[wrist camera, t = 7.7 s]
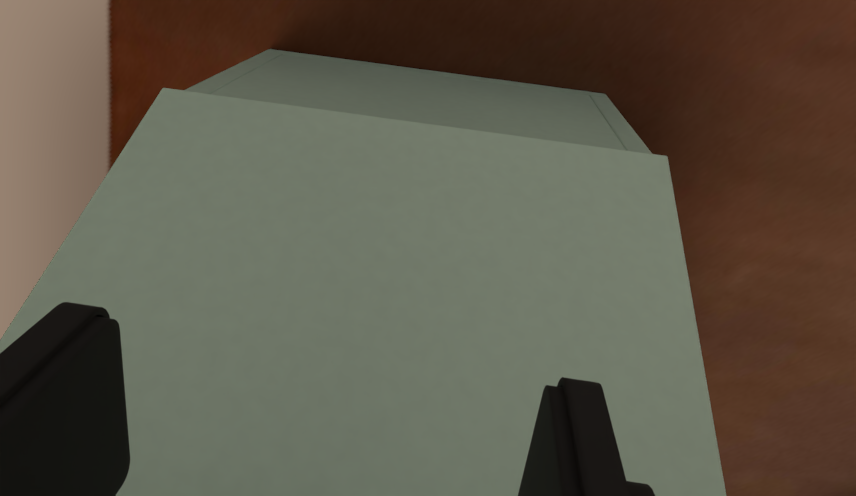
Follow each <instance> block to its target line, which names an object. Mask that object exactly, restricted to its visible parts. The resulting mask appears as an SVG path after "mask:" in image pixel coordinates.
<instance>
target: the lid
mask: <svg viewBox="0 0 856 496" xmlns="http://www.w3.org/2000/svg"><path fill="white" fill-rule="evenodd" d="M62 302H70V303H77V304H84V305H90V306H97V307H103V308H104V309H106V310H107V312H108V313H109V316H110V319H115V320H117V322H118V323H119V327H120V336H121V349H122V361H123V374H124V386H125V399H126V412H127V424H128V437H129V449H130V466H129V471H128V474H127V477H126V479H125V481H124V483H123V485H122V487H121V488H120V490H119V491H118V493H117V494H116V496H518V493H519V489H520V484H521V480H522V476H523V472H524V468H525V464H526V460H527V456H528V451H529V447H530V443H531V439H532V435H533V431H534V427H535V423H536V418H537V414H538V410H539V406H540V402H541V398H542V394H543V390H544V388H545V386H546V385H550V386H557V385H558V382H559V380H560V378H562V377H564V378H571V379H577V380H584V381H591V382H597V383H600V384H601V386H602V388H603V392H604V396H605V400H606V404H607V407H608V411H609V415H610V419H611V423H612V427H613V431H614V435H615V438H616V442H617V446H618V450H619V454H620V458H621V462H622V466H623V469H624V473H625V477H626V481H630V482H636V483H643V484H648V485H649V486H650V487H651V488H652V489H653V492H654V494H655V496H726V491H725V485H724V479H723V474H722V468H721V462H720V456H719V451H718V445H717V439H716V433H715V428H714V422H713V416H712V410H711V404H710V399H709V393H708V387H707V381H706V376H705V370H704V364H703V358H702V353H701V347H700V341H699V335H698V330H697V324H696V318H695V312H694V307H693V301H692V295H691V289H690V284H689V278H688V272H687V266H686V260H685V255H684V249H683V243H682V237H681V232H680V226H679V220H678V214H677V209H676V203H675V197H674V191H673V186H672V180H671V174H670V168H669V163H668V157H667V156H663V155H656V154H648V153H641V152H634V151H626V150H619V149H612V148H604V147H597V146H589V145H582V144H575V143H567V142H560V141H552V140H545V139H538V138H530V137H523V136H516V135H508V134H501V133H493V132H486V131H479V130H471V129H464V128H457V127H449V126H442V125H434V124H427V123H420V122H412V121H405V120H398V119H390V118H383V117H375V116H368V115H361V114H353V113H346V112H339V111H331V110H324V109H316V108H309V107H302V106H294V105H287V104H280V103H272V102H265V101H257V100H250V99H243V98H235V97H228V96H221V95H213V94H206V93H198V92H191V91H184V90H176V89H169V88H162V90H161V91H160V93H159V95H158V96H157V98H156V99H155V101H154V102H153V104H152V105H151V107H150V108H149V110H148V112H147V113H146V115H145V116H144V118H143V119H142V121H141V122H140V124H139V126H138V127H137V129H136V130H135V132H134V133H133V135H132V136H131V138H130V140H129V141H128V143H127V144H126V146H125V147H124V149H123V150H122V152H121V153H120V155H119V157H118V158H117V160H116V161H115V163H114V164H113V166H112V167H111V169H110V171H109V172H108V174H107V175H106V177H105V179H104V180H103V181H102V183H101V185H100V186H99V188H98V189H97V191H96V192H95V194H94V196H93V197H92V198H91V200H90V202H89V203H88V205H87V206H86V208H85V209H84V211H83V212H82V214H81V216H80V217H79V219H78V220H77V222H76V223H75V225H74V226H73V228H72V230H71V231H70V233H69V234H68V236H67V237H66V239H65V241H64V242H63V243H62V245H61V247H60V248H59V250H58V251H57V253H56V254H55V256H54V257H53V259H52V261H51V262H50V264H49V265H48V267H47V268H46V270H45V271H44V273H43V275H42V276H41V278H40V279H39V281H38V282H37V284H36V285H35V287H34V288H33V290H32V292H31V293H30V295H29V296H28V298H27V299H26V301H25V302H24V304H23V306H22V307H21V309H20V310H19V312H18V314H17V315H16V317H15V318H14V319H13V321H12V323H11V324H10V326H9V327H8V329H7V330H6V332H5V333H4V335H3V337H2V338H1V340H0V353H1V352H2V351H4V350H5V349H6V348H7V347H8V346H9V345H11V344H12V343H13V342H14V341H15V340H17V339H18V338H19V337H20V336H21V335H23V334H24V333H25V332H26V331H27V330H28V329H30V328H31V327H32V326H33V325H34V324H36V323H37V322H38V321H39V320H40V319H42V318H43V317H44V316H45V315H46V314H47V313H49V312H50V311H51V310H52V309H53V308H55V307H56V306H57V305H59V304H60V303H62Z"/></svg>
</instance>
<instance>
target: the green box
mask: <svg viewBox="0 0 856 496" xmlns="http://www.w3.org/2000/svg"><path fill="white" fill-rule="evenodd" d="M184 91H191V92H198V93H206V94H213V95H221V96H228V97H235V98H243V99H250V100H257V101H265V102H272V103H280V104H287V105H294V106H302V107H309V108H316V109H324V110H331V111H339V112H346V113H353V114H361V115H368V116H375V117H383V118H390V119H398V120H405V121H412V122H420V123H427V124H434V125H442V126H449V127H457V128H464V129H471V130H479V131H486V132H493V133H501V134H508V135H516V136H523V137H530V138H538V139H545V140H552V141H560V142H567V143H575V144H582V145H589V146H597V147H604V148H612V149H619V150H626V151H634V152H641V153H648V154H652V153H651V151H650V150H649V149H648V148H647V146H646V145H645V144H644V143H643V141H642V140H641V139H640V137H639V136H638V135H637V134H636V132H635V131H634V130H633V129H632V127H631V126H630V125H629V123H628V122H627V121H626V120H625V118H624V117H623V116H622V115H621V113H620V112H619V111H618V109H617V108H616V107H615V106H614V104H613V103H612V102H611V101H610V99H609V98H608V97H607V95H606V94H603V93H596V92H588V91H581V90H573V89H566V88H558V87H551V86H543V85H536V84H528V83H521V82H513V81H506V80H498V79H491V78H484V77H476V76H469V75H461V74H454V73H446V72H439V71H431V70H424V69H416V68H409V67H401V66H394V65H386V64H379V63H371V62H364V61H356V60H349V59H341V58H334V57H326V56H319V55H311V54H304V53H296V52H289V51H281V50H274V49H268V50H266V51H264V52H262V53H260V54H258V55H256V56H254V57H252V58H250V59H247V60H245V61H243V62H241V63H239V64H237V65H235V66H233V67H231V68H229V69H227V70H225V71H223V72H221V73H219V74H217V75H214V76H212V77H210V78H208V79H206V80H204V81H202V82H200V83H198V84H196V85H194V86H192V87H190V88H188V89H186V90H184Z"/></svg>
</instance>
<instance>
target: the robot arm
mask: <svg viewBox="0 0 856 496" xmlns="http://www.w3.org/2000/svg"><path fill="white" fill-rule="evenodd" d="M129 466H130V449H129V437H128V424H127V412H126V399H125V386H124V374H123V361H122V349H121V336H120V327H119V323H118V322H117V320H115V319H110V316H109V313H108V312H107V310H106V309H104V308H103V307H97V306H90V305H84V304H77V303H70V302H62V303H60V304H59V305H57V306H56V307H55V308H53V309H52V310H51V311H50V312H49V313H47V314H46V315H45V316H44V317H43V318H42V319H40V320H39V321H38V322H37V323H36V324H34V325H33V326H32V327H31V328H30V329H28V330H27V331H26V332H25V333H24V334H23V335H21V336H20V337H19V338H18V339H17V340H15V341H14V342H13V343H12V344H11V345H9V346H8V347H7V348H6V349H5V350H4V351H2V352H1V353H0V496H116V494H117V493H118V491H119V490H120V488H121V487H122V485H123V483H124V481H125V479H126V477H127V474H128V471H129ZM518 496H655V494H654V492H653V489H652V488H651V487H650V486H649V485H648V484H643V483H636V482H630V481H626V477H625V473H624V469H623V466H622V462H621V458H620V454H619V450H618V446H617V442H616V438H615V435H614V431H613V427H612V423H611V419H610V415H609V411H608V407H607V404H606V400H605V396H604V392H603V388H602V386H601V384H600V383H597V382H591V381H584V380H577V379H571V378H564V377H562V378H560V380H559V382H558V385H557V386H550V385H546V386H545V388H544V390H543V394H542V398H541V402H540V406H539V410H538V414H537V418H536V423H535V427H534V431H533V435H532V439H531V443H530V447H529V451H528V456H527V460H526V464H525V468H524V472H523V476H522V480H521V484H520V489H519V493H518Z"/></svg>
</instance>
